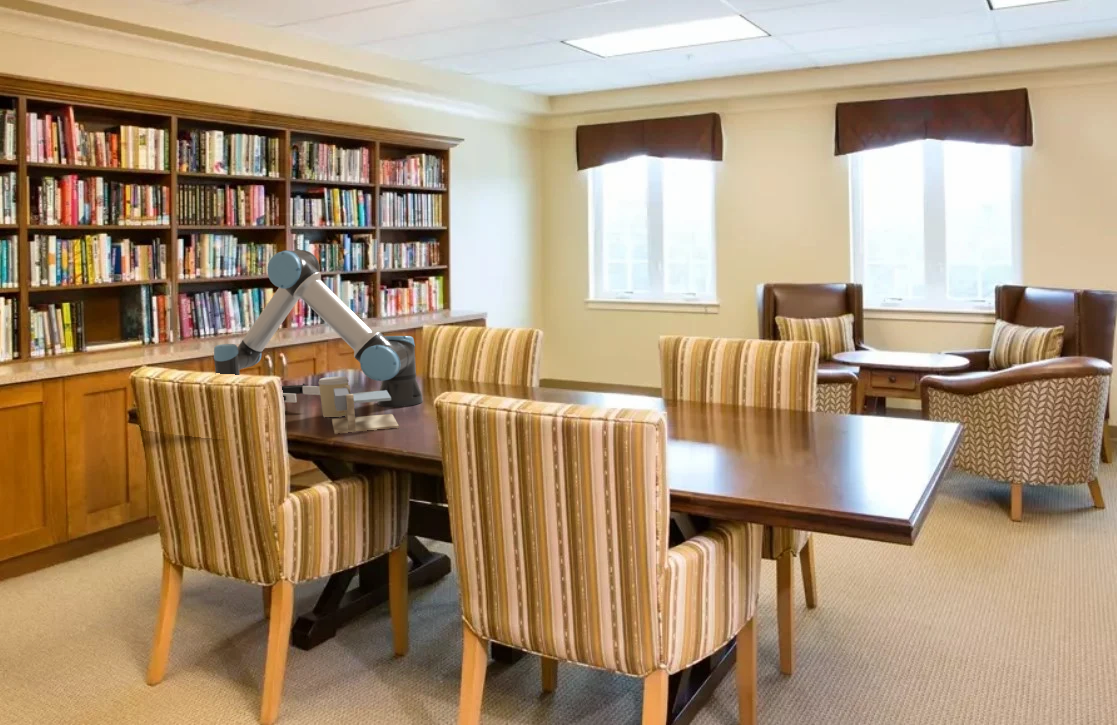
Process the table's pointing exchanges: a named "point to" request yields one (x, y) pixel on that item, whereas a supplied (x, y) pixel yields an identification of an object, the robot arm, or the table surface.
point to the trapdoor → (358, 397)
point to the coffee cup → (331, 395)
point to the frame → (361, 419)
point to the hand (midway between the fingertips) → (308, 394)
